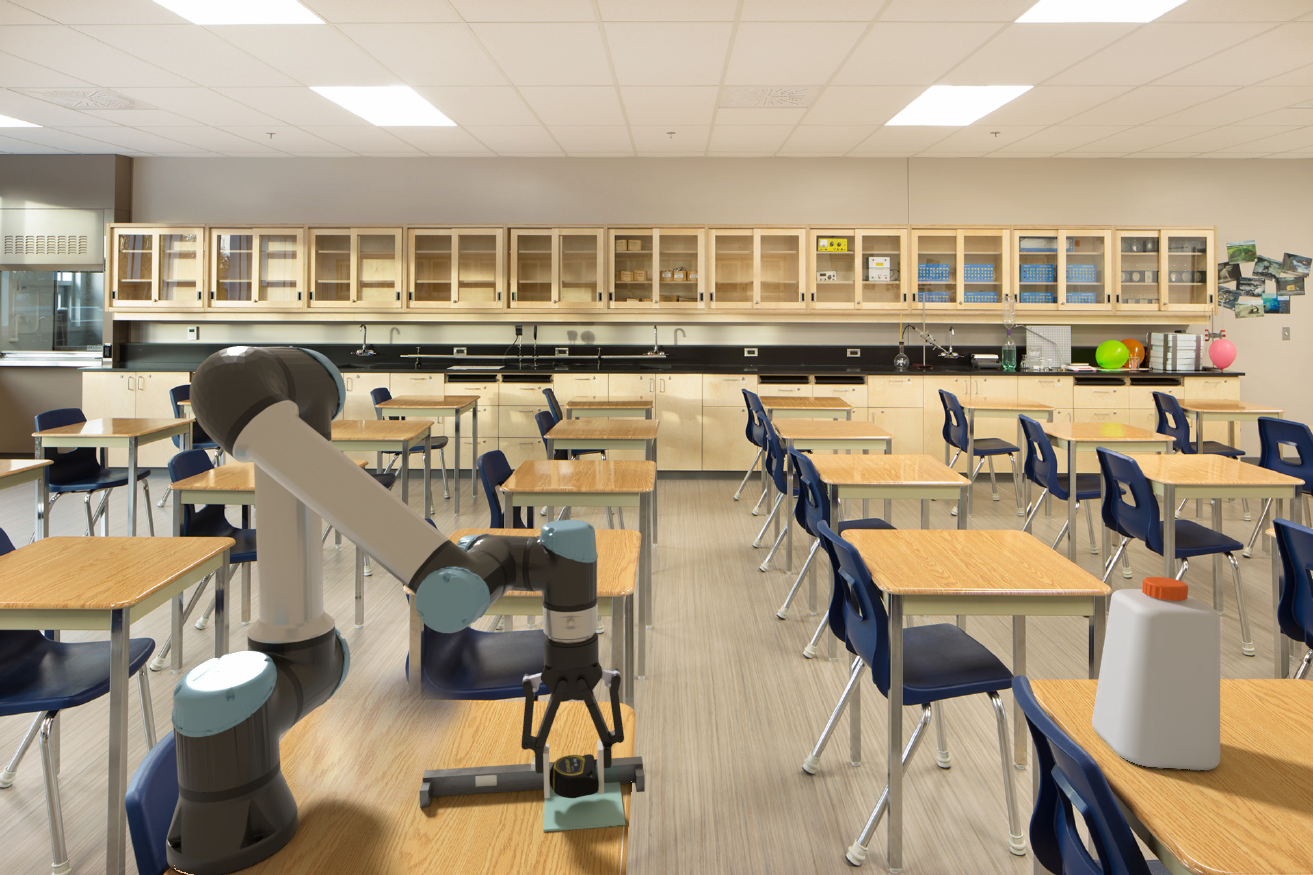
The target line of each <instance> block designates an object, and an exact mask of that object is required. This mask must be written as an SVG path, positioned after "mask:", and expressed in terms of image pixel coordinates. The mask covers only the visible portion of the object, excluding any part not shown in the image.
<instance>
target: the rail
mask: <svg viewBox="0 0 1313 875" xmlns="http://www.w3.org/2000/svg"><path fill="white" fill-rule="evenodd" d="M596 759H597V758H596ZM596 759H595V758H594V760H596ZM530 762H531V763H519V764H502V765H501V764H499V765H489V766H487V765H486V766H472V767H471V766H469V767H456V768H440V769H439V768H438V769H426V770H424V772H423V775H422V782H421V784H420V788H419V790H418V791H419V808H429V806H430V803H431V801H432V798H434V797H450V796H463V795H478V794H493V793H507V792H522V791H523V792H524V791H537V790H544V773H536V770H535V756H532V757H531V760H530ZM549 762H550V769H551V767H552V765H553V763H554V762H555V761H549ZM643 762H644V761H643V757H642V756H641V755H640V756H629V757H626V756H625V757H612V765H611V767H610V768H604V783H614V782H620V785H623V784H635V791H636V793H644V792H645V789H646V788H645V787H646V786H645V785H646V784H645V783H646V782H645V780H646V777H645V775H646V774H645V770H644V763H643ZM596 763H597V764H596V773H597V776H598V762H597V761H596ZM631 781H632V783H631ZM550 787H551V785H550Z"/></svg>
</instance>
